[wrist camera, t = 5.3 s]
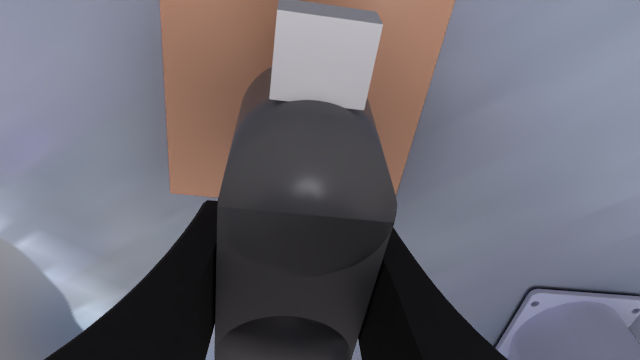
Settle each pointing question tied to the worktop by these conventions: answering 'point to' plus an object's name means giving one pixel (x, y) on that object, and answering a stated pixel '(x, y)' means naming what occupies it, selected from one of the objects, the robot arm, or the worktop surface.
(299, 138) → the charger plug
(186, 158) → the terracotta trivet
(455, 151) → the worktop surface
